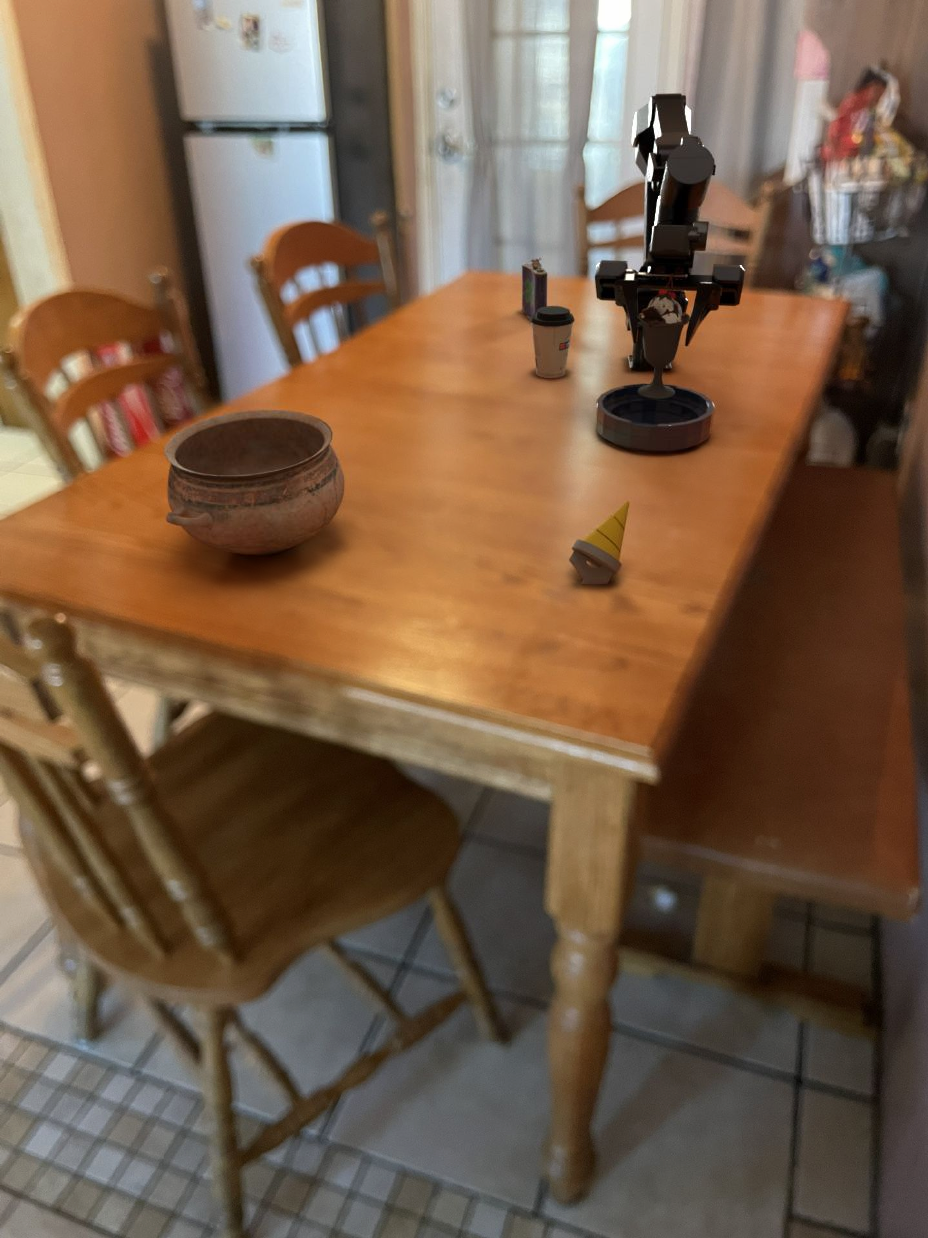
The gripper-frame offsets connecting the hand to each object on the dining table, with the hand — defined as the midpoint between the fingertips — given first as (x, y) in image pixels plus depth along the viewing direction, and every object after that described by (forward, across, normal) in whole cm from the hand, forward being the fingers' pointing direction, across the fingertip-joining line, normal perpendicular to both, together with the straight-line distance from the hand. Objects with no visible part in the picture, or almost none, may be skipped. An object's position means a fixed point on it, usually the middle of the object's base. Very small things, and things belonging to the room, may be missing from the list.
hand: (660, 343), depth 118 cm
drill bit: (+35, -2, -17) cm, 39 cm away
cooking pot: (+36, -40, -18) cm, 57 cm away
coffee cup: (-6, -18, +25) cm, 32 cm away
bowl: (+8, 0, +10) cm, 13 cm away
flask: (-27, -26, +47) cm, 60 cm away
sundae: (+4, 0, +6) cm, 7 cm away
